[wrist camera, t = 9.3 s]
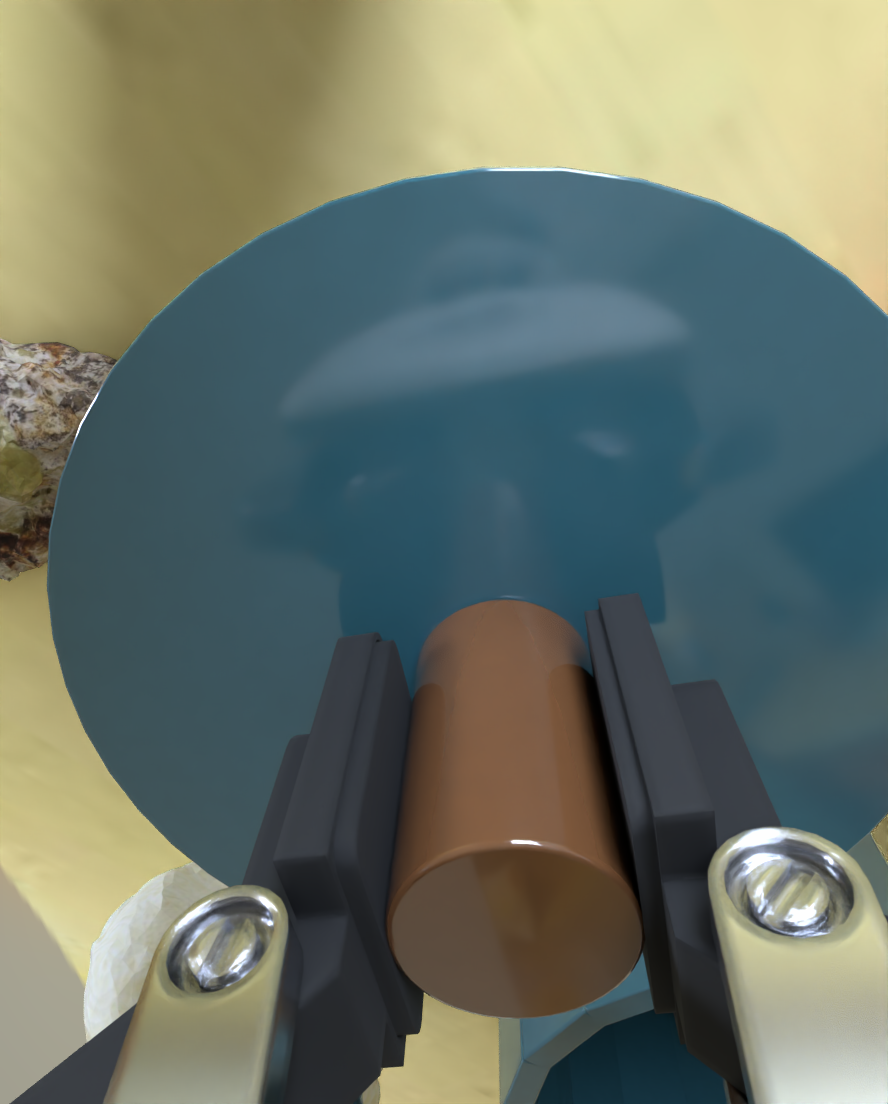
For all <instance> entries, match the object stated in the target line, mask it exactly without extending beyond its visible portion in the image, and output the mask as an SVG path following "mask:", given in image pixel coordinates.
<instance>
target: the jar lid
mask: <svg viewBox="0 0 888 1104" xmlns="http://www.w3.org/2000/svg"><path fill="white" fill-rule="evenodd" d="M47 592H48V600H49V609H50V618H51V626H52V635H53V640H54V644H55V648H56V652H57V655H58V659H59V663H60V666H61V670H62V674H63V678H64V681H65V685H66V688H67V690H68V692H69V695H70V697H71V700H72V702H73V704H74V707H75V709H76V711H77V714H78V716H79V718H80V721H81V723H82V725H83V728H84V730H85V732H86V734H87V735H88V737H89V739H90V741H91V742H92V744H93V746H94V747H95V749H96V751H97V752H98V754H99V756H100V757H101V759H102V761H103V763H104V764H105V766H106V768H107V769H108V771H109V773H110V774H111V775H112V777H113V778H114V779H115V780H116V782H117V783H118V784H119V786H120V787H121V788H122V789H123V791H124V792H125V793H126V795H127V796H128V797H129V799H130V800H131V801H132V802H133V804H134V805H135V806H136V808H137V809H138V810H139V811H140V812H141V813H142V814H143V815H144V816H145V817H146V818H147V819H148V820H149V821H150V822H151V823H152V824H153V825H154V827H155V828H156V829H157V830H158V831H159V832H160V833H161V834H162V835H163V836H164V837H165V838H166V839H167V840H168V841H169V842H170V843H171V844H172V845H174V846H175V847H176V848H177V849H178V850H180V851H181V852H182V853H183V854H184V855H186V856H187V857H188V858H189V859H191V860H192V861H193V862H194V863H195V864H197V865H198V866H199V867H200V868H202V869H203V870H204V871H205V872H206V873H208V874H209V875H211V876H212V877H214V878H215V879H217V880H218V881H220V882H221V883H223V884H224V885H226V886H227V887H231V886H235V885H242V882H243V879H244V876H245V873H246V870H247V867H248V864H249V861H250V858H251V855H252V852H253V848H254V845H255V842H256V839H257V836H258V833H259V830H260V827H261V824H262V821H263V818H264V815H265V812H266V809H267V806H268V802H269V799H270V796H271V793H272V790H273V787H274V784H275V781H276V778H277V775H278V772H279V769H280V766H281V763H282V760H283V756H284V753H285V750H286V747H287V745H288V743H289V741H290V739H291V738H293V737H294V736H296V735H304V734H310V732H311V728H312V725H313V721H314V718H315V715H316V711H317V708H318V704H319V701H320V698H321V694H322V691H323V687H324V684H325V681H326V677H327V674H328V670H329V667H330V664H331V660H332V657H333V653H334V650H335V646H336V643H337V641H338V639H339V638H341V637H346V636H353V635H360V634H366V633H373V632H378V633H379V634H380V636H381V638H382V640H383V641H388V640H394V641H395V643H396V646H397V649H398V652H399V656H400V660H401V663H402V667H403V671H404V674H405V678H406V682H407V686H408V689H409V693H410V697H411V700H412V708H411V716H410V724H409V732H408V740H407V748H406V756H405V764H404V772H403V780H402V788H401V796H400V804H399V812H398V820H397V828H396V836H395V844H394V852H393V859H392V867H391V875H390V883H389V891H388V899H387V907H386V915H385V933H386V938H387V942H388V946H389V949H390V952H391V955H392V957H393V959H394V961H395V963H396V964H397V966H398V967H399V969H400V970H401V972H402V973H403V974H404V975H405V976H406V977H407V978H408V979H409V980H410V981H411V982H412V983H413V984H414V985H415V986H416V987H418V988H419V989H420V990H422V991H423V992H425V993H426V994H428V995H429V996H431V997H432V998H434V999H436V1000H438V1001H440V1002H442V1003H444V1004H446V1005H449V1006H451V1007H454V1008H456V1009H459V1010H463V1011H466V1012H469V1013H473V1014H478V1015H482V1016H487V1017H496V1018H507V1019H529V1018H540V1017H548V1016H553V1015H558V1014H563V1013H566V1012H570V1011H573V1010H576V1009H579V1008H581V1007H584V1006H586V1005H589V1004H591V1003H593V1002H595V1001H597V1000H599V999H600V998H602V997H604V996H606V995H607V994H608V993H610V992H611V991H613V990H614V989H616V988H617V987H618V986H619V985H620V984H621V983H622V982H623V981H624V980H625V979H626V978H627V977H628V976H629V975H630V973H631V972H632V971H633V970H634V968H635V966H636V964H637V963H638V961H639V959H640V957H641V954H643V948H644V945H645V932H644V924H643V917H642V910H641V904H640V898H639V893H638V888H637V884H636V879H635V874H634V869H633V864H632V860H631V855H630V850H629V845H628V841H627V836H626V831H625V826H624V821H623V817H622V812H621V807H620V802H619V797H618V793H617V788H616V783H615V778H614V773H613V769H612V764H611V759H610V754H609V750H608V745H607V740H606V735H605V730H604V726H603V721H602V716H601V711H600V706H599V702H598V697H597V692H596V687H595V682H594V678H593V671H592V664H591V657H590V650H589V643H588V636H587V629H586V622H585V614H584V611H590V610H596V609H599V606H598V599H599V598H606V597H613V596H619V595H626V594H633V593H638V594H639V596H640V598H641V601H642V604H643V607H644V610H645V613H646V616H647V618H648V621H649V624H650V627H651V630H652V633H653V636H654V638H655V641H656V644H657V647H658V650H659V653H660V656H661V659H662V661H663V664H664V667H665V670H666V673H667V676H668V679H669V681H670V684H671V685H675V684H682V683H690V682H697V681H704V680H712V679H715V680H716V681H717V682H718V683H719V685H720V687H721V689H722V691H723V693H724V696H725V698H726V700H727V703H728V705H729V707H730V709H731V712H732V714H733V716H734V718H735V721H736V723H737V725H738V727H739V730H740V732H741V734H742V737H743V739H744V741H745V743H746V746H747V748H748V750H749V752H750V755H751V757H752V759H753V762H754V764H755V766H756V768H757V771H758V773H759V775H760V777H761V780H762V782H763V784H764V787H765V789H766V791H767V793H768V796H769V798H770V800H771V802H772V805H773V807H774V809H775V811H776V814H777V816H778V818H779V821H780V823H781V825H782V827H790V828H795V829H799V830H803V831H806V832H810V833H814V834H817V835H819V836H821V837H822V838H824V839H826V840H828V841H830V842H832V843H834V844H836V845H838V846H839V847H840V848H841V849H843V850H844V851H845V852H846V853H847V852H848V851H849V850H851V849H852V848H853V847H854V846H855V845H856V844H858V843H859V842H860V841H861V840H862V839H863V838H864V837H866V836H867V835H868V834H869V833H870V832H871V831H872V830H873V829H874V828H875V827H876V826H877V825H878V824H879V823H880V822H881V821H882V819H883V818H884V817H885V816H886V815H887V814H888V315H887V314H886V313H885V312H884V311H883V310H882V309H881V308H880V307H879V306H878V305H877V304H875V303H874V302H873V301H872V300H871V299H870V298H869V297H868V296H867V295H866V294H865V293H864V292H863V291H862V290H861V289H860V288H859V287H858V286H857V285H856V284H855V283H853V282H852V281H851V280H850V279H849V278H848V277H847V276H846V275H845V274H843V273H842V272H840V271H839V270H838V269H836V268H835V267H833V266H832V265H830V264H829V263H827V262H826V261H824V260H823V259H821V258H820V257H819V256H817V255H816V254H814V253H813V252H811V251H810V250H808V249H807V248H805V247H804V246H802V245H801V244H800V243H798V242H797V241H795V240H794V239H792V238H791V237H789V236H788V235H786V234H785V233H783V232H781V231H778V230H776V229H774V228H772V227H770V226H768V225H766V224H764V223H762V222H759V221H757V220H755V219H753V218H751V217H749V216H747V215H745V214H743V213H740V212H738V211H736V210H734V209H732V208H730V207H728V206H726V205H724V204H722V203H719V202H717V201H714V200H711V199H708V198H704V197H701V196H698V195H694V194H691V193H688V192H684V191H681V190H678V189H674V188H671V187H668V186H664V185H661V184H658V183H654V182H651V181H648V180H644V179H641V178H635V177H629V176H622V175H615V174H608V173H601V172H594V171H587V170H580V169H573V168H566V167H559V166H519V167H476V168H469V169H463V170H456V171H449V172H443V173H436V174H429V175H422V176H416V177H409V178H405V179H401V180H398V181H395V182H391V183H388V184H385V185H381V186H378V187H375V188H372V189H368V190H365V191H362V192H358V193H355V194H352V195H348V196H345V197H342V198H338V199H335V200H332V201H329V202H327V203H325V204H323V205H321V206H319V207H317V208H314V209H312V210H310V211H308V212H306V213H304V214H302V215H300V216H297V217H295V218H293V219H291V220H289V221H287V222H285V223H282V224H280V225H278V226H276V227H274V228H272V229H270V230H268V231H265V232H263V233H261V234H260V235H258V236H257V237H255V238H254V239H252V240H251V241H249V242H248V243H246V244H245V245H243V246H242V247H240V248H239V249H237V250H236V251H234V252H233V253H231V254H230V255H228V256H227V257H225V258H224V259H222V260H221V261H219V262H218V263H216V264H215V265H213V266H212V267H210V268H209V269H207V270H206V271H204V272H203V273H201V274H200V275H199V276H198V277H197V278H196V279H195V280H194V281H192V282H191V283H190V284H189V285H188V286H187V287H186V288H185V289H184V290H183V291H181V292H180V293H179V294H178V295H177V296H176V297H175V298H174V299H173V300H172V301H171V302H169V303H168V304H167V305H166V306H165V307H164V308H163V309H162V310H161V311H160V312H159V313H157V314H156V315H155V316H154V317H153V318H152V319H151V320H150V321H149V322H148V324H147V325H146V326H145V327H144V329H143V330H142V331H141V332H140V334H139V335H138V336H137V337H136V339H135V340H134V341H133V342H132V344H131V345H130V346H129V347H128V349H127V350H126V351H125V352H124V354H123V355H122V356H121V357H120V359H119V360H118V361H117V362H116V364H115V365H114V366H113V367H112V369H111V370H110V372H109V373H108V375H107V377H106V379H105V380H104V382H103V384H102V386H101V388H100V389H99V391H98V393H97V395H96V396H95V398H94V400H93V402H92V403H91V405H90V407H89V409H88V410H87V412H86V414H85V416H84V418H83V419H82V421H81V423H80V425H79V428H78V431H77V433H76V436H75V439H74V441H73V444H72V447H71V449H70V452H69V455H68V458H67V460H66V463H65V466H64V468H63V471H62V474H61V476H60V480H59V485H58V490H57V495H56V500H55V505H54V510H53V515H52V520H51V525H50V530H49V546H48V572H47Z"/></svg>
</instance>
